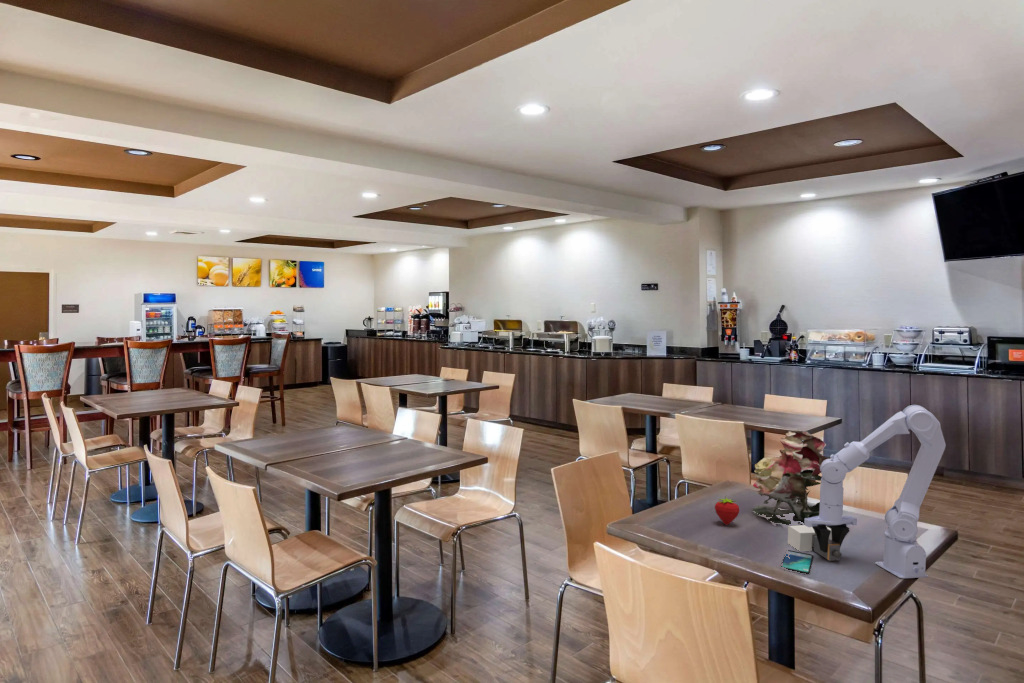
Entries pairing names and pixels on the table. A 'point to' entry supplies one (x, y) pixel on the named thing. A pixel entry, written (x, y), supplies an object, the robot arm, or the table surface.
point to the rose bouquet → (791, 476)
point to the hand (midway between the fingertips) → (829, 550)
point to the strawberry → (727, 510)
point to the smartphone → (798, 562)
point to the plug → (832, 551)
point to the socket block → (802, 537)
